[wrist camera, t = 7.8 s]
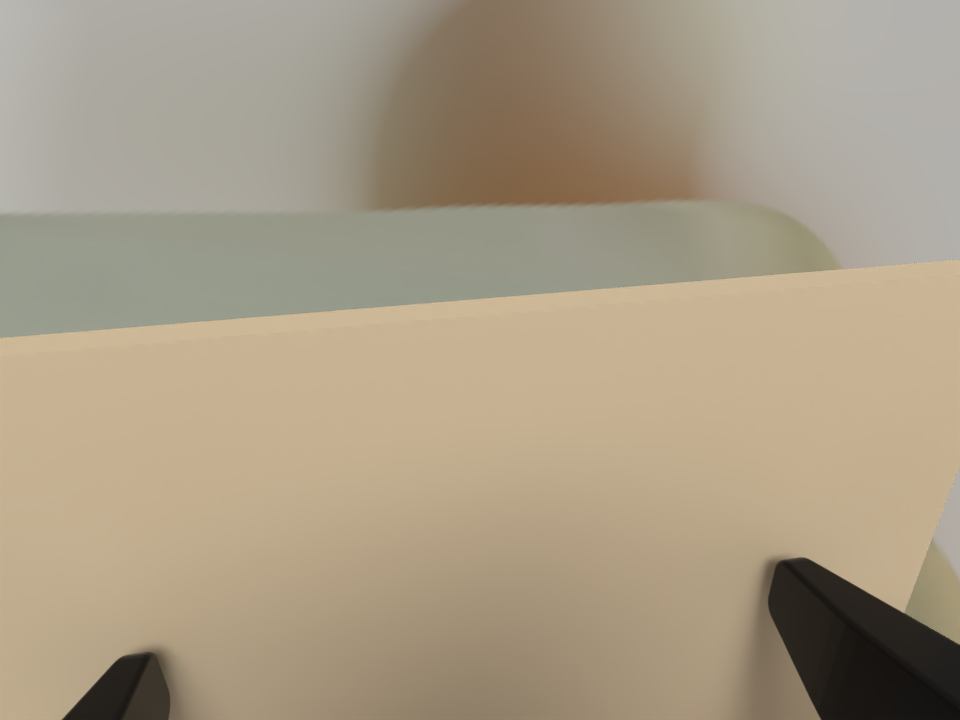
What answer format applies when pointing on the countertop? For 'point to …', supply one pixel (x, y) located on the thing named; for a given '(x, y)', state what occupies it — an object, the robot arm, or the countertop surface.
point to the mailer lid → (472, 497)
